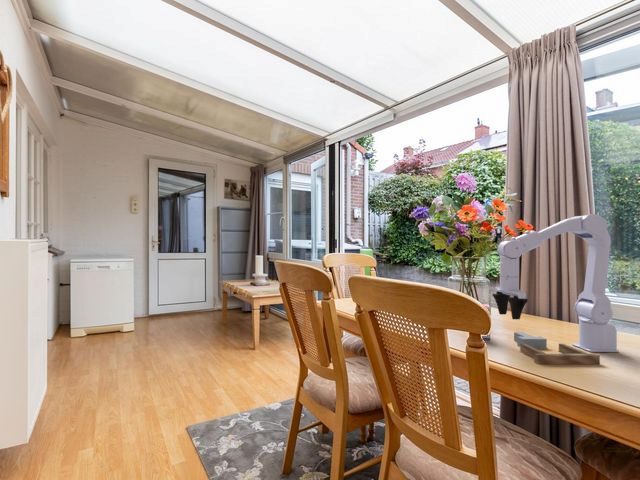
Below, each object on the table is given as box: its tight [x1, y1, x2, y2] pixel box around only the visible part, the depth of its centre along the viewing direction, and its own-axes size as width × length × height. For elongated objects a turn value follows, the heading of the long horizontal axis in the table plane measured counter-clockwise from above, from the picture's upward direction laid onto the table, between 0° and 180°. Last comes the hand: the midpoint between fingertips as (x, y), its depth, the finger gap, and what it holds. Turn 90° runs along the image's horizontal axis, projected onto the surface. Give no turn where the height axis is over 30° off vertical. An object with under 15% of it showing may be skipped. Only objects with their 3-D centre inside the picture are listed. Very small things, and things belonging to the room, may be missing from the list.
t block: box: [513, 331, 548, 349], centre depth 117 cm, size 8×9×3 cm
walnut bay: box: [519, 343, 601, 365], centre depth 103 cm, size 18×12×2 cm, turn 91°
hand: (509, 316), depth 116 cm, fingers open, 7 cm apart
